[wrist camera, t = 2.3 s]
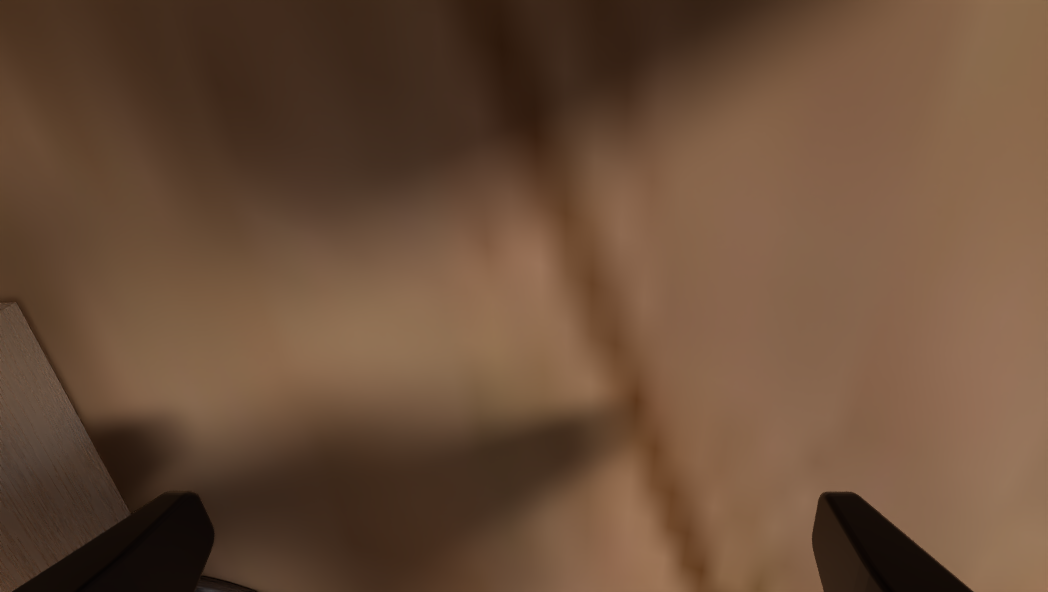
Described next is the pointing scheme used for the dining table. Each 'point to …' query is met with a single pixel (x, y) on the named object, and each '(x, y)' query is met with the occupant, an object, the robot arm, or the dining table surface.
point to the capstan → (44, 463)
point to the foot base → (218, 586)
